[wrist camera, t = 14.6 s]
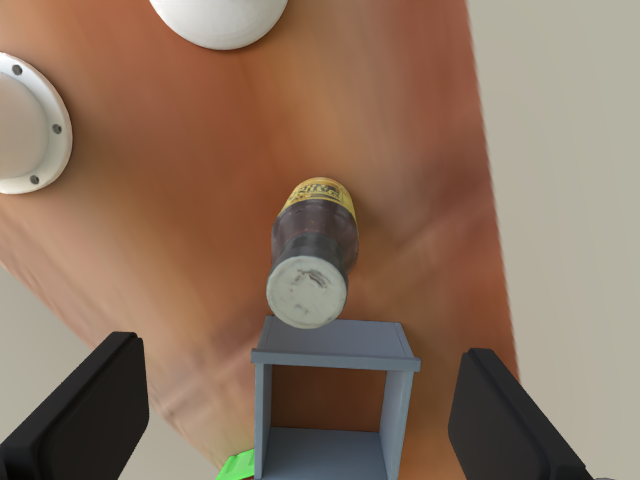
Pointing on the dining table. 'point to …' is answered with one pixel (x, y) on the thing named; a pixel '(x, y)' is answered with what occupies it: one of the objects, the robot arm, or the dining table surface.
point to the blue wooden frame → (333, 445)
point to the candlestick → (220, 20)
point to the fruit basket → (238, 467)
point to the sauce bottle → (312, 254)
